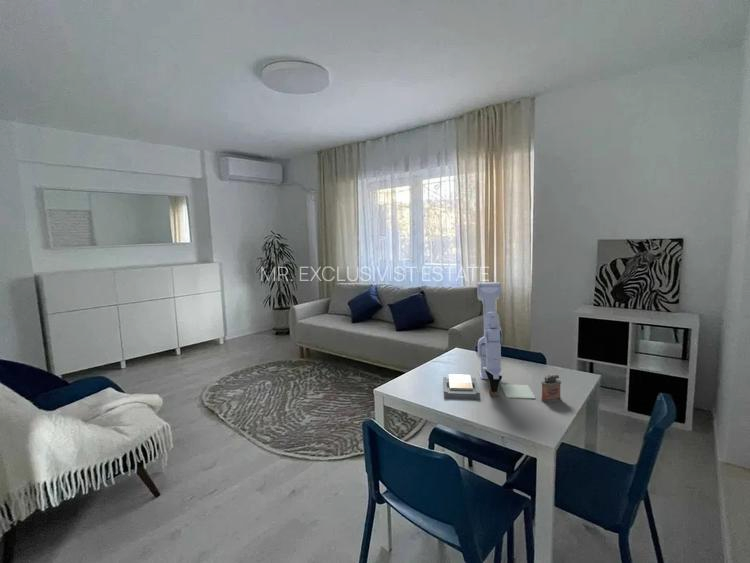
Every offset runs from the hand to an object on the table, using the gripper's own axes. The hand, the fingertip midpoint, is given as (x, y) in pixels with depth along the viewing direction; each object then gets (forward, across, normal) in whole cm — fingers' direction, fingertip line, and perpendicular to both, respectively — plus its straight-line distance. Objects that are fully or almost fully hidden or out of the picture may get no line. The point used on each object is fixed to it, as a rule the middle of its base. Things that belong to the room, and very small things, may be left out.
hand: (493, 389), depth 150 cm
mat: (+2, -3, +10) cm, 11 cm away
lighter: (+2, +4, +21) cm, 21 cm away
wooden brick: (+2, 0, 0) cm, 2 cm away
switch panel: (+2, -3, -13) cm, 13 cm away
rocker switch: (-2, -3, -13) cm, 13 cm away
